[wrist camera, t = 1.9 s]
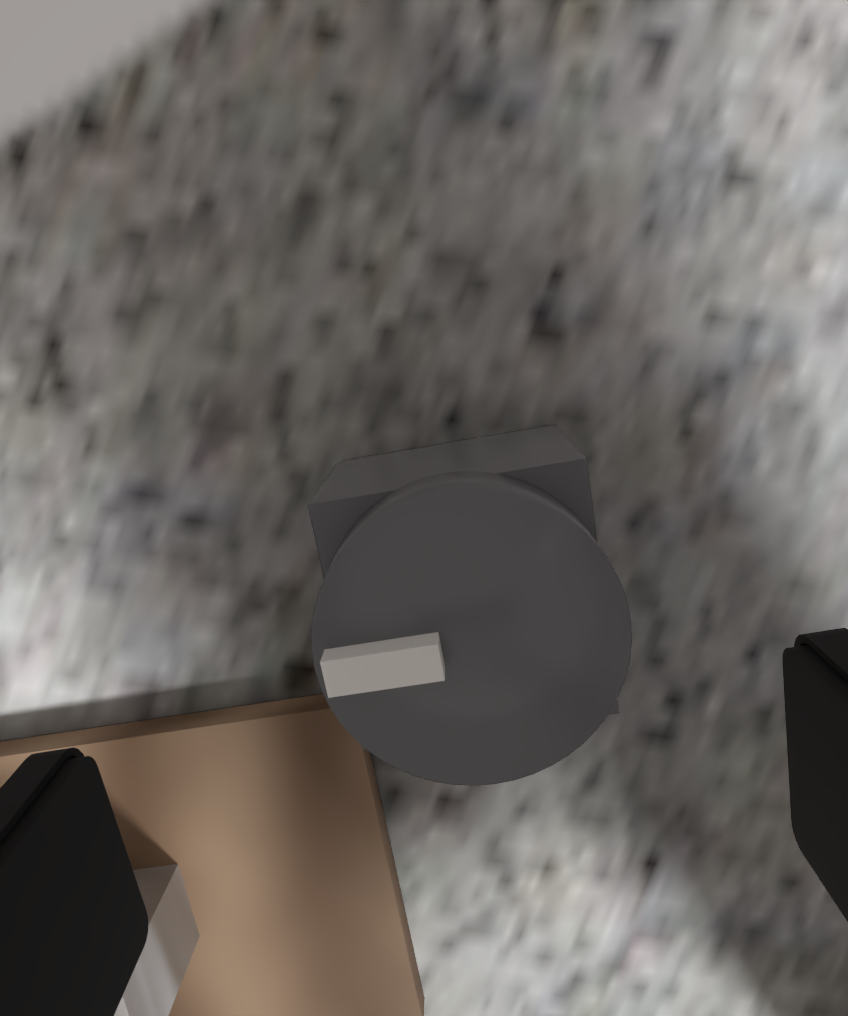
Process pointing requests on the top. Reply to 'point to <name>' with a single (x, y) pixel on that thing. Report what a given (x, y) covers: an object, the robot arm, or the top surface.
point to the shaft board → (253, 862)
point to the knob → (467, 606)
